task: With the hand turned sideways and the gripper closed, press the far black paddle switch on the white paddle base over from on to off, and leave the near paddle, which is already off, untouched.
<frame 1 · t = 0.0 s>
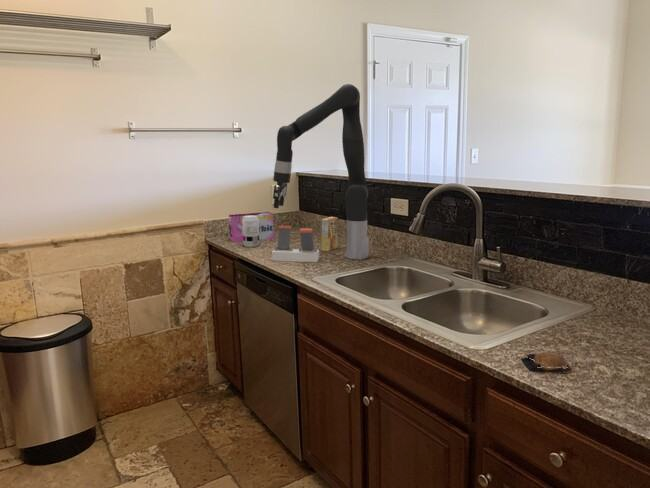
hand: (278, 206, 226), 22 cm above the worktop, tool pointing down, fingers open, 8 cm apart
supplement can: (251, 246, 250), on the worktop
white paddle base: (295, 259, 221), on the worktop
candy box: (329, 249, 242), on the worktop
far paddle: (284, 237, 222), point 9 cm above the worktop, hinge at 20.0°
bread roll: (546, 368, 119), on the worktop
gum box: (252, 239, 267), on the worktop
near paddle: (307, 240, 217), point 9 cm above the worktop, hinge at -20.0°
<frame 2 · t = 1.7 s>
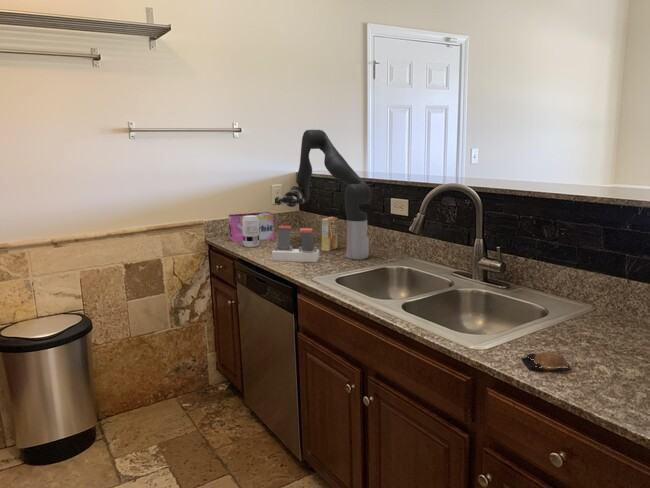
hand: (285, 202, 228), 24 cm above the worktop, tool horizontal, fingers open, 6 cm apart
nothing on the worktop moved.
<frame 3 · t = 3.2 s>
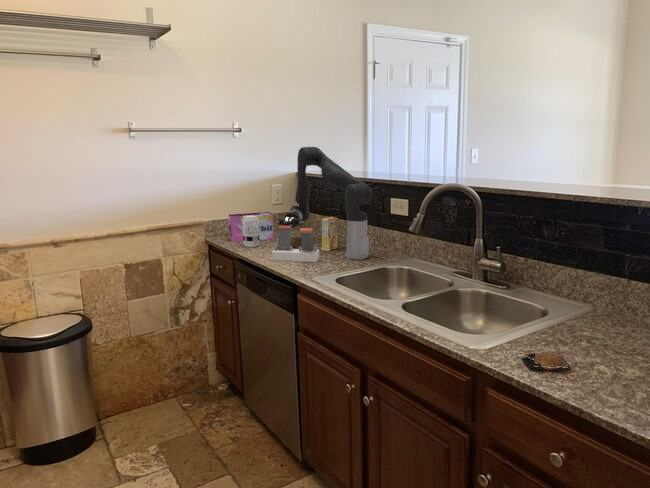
hand: (285, 224, 229), 14 cm above the worktop, tool horizontal, fingers closed
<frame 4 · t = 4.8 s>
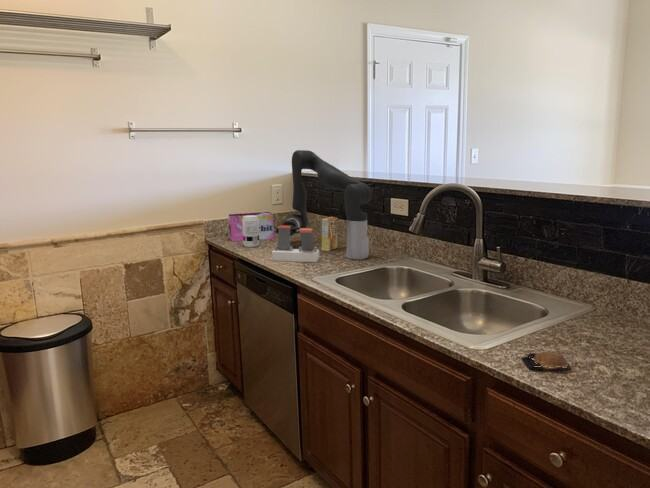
hand: (282, 233, 222), 11 cm above the worktop, tool horizontal, fingers closed
far paddle: (284, 237, 222), point 9 cm above the worktop, hinge at 15.8°, touching gripper
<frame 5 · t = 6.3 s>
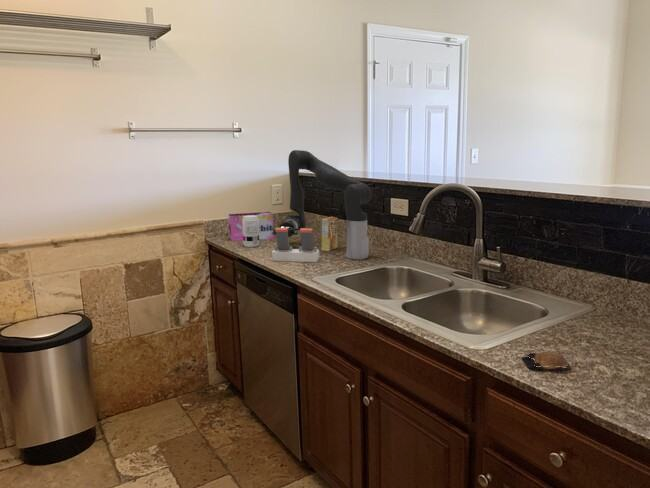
hand: (280, 234, 219), 11 cm above the worktop, tool horizontal, fingers closed
far paddle: (282, 239, 219), point 9 cm above the worktop, hinge at -20.0°
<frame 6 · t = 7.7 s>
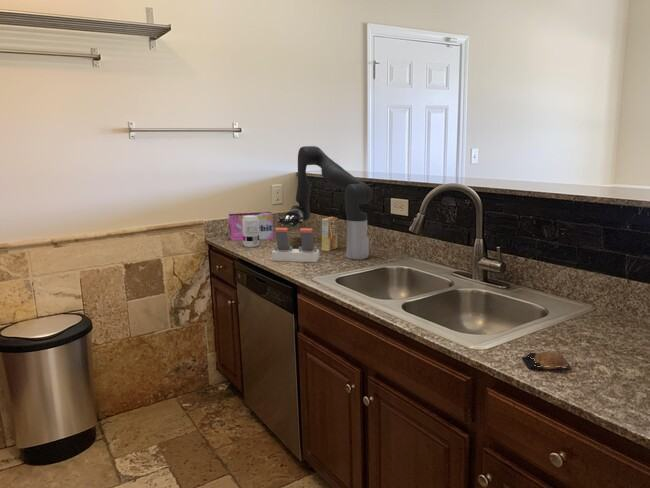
hand: (286, 222, 229), 15 cm above the worktop, tool horizontal, fingers closed
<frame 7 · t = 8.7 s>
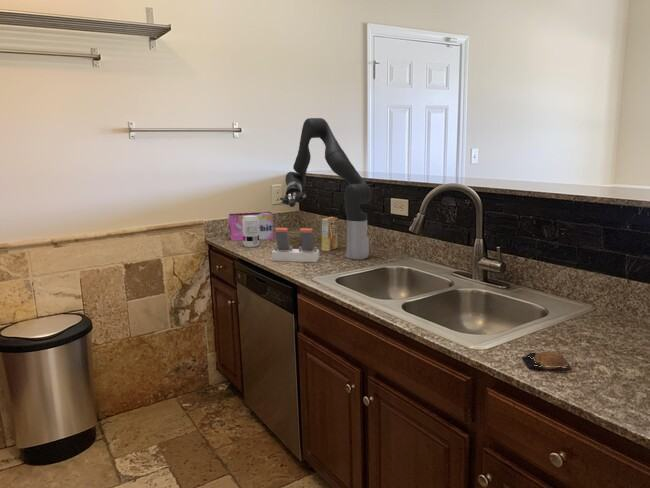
hand: (292, 205, 226), 23 cm above the worktop, tool horizontal, fingers closed
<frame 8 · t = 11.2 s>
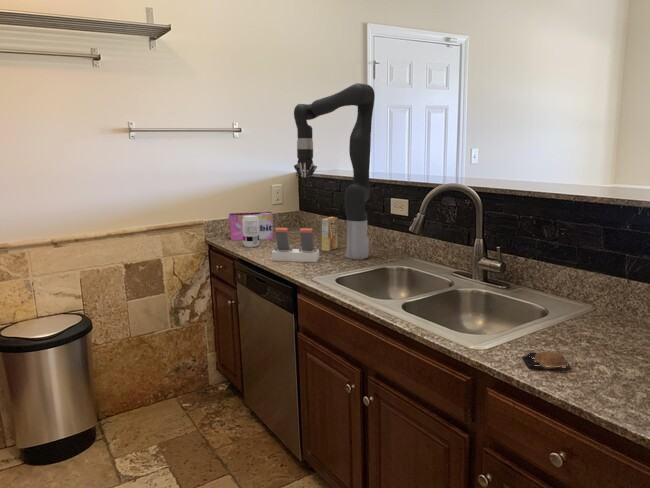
hand: (305, 185, 237), 31 cm above the worktop, tool pointing down, fingers closed
at the end: far paddle at -20° (first picture: +20°); near paddle at -20° (first picture: -20°) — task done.
